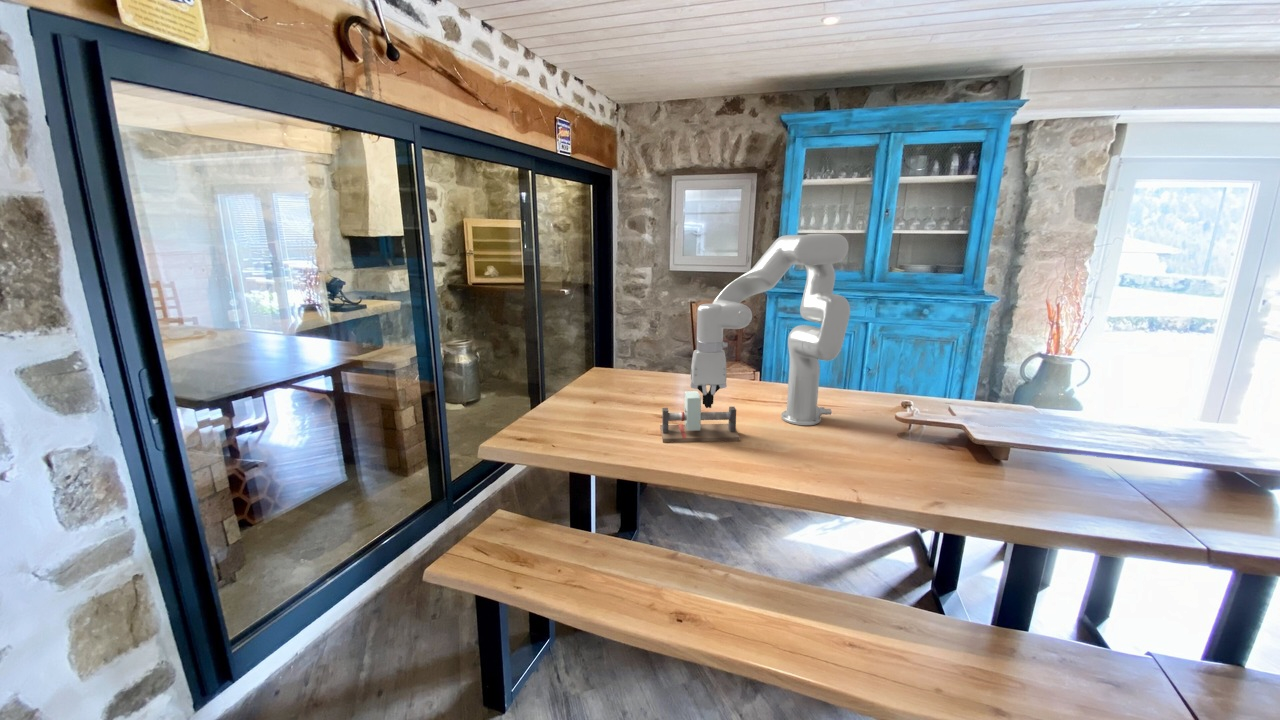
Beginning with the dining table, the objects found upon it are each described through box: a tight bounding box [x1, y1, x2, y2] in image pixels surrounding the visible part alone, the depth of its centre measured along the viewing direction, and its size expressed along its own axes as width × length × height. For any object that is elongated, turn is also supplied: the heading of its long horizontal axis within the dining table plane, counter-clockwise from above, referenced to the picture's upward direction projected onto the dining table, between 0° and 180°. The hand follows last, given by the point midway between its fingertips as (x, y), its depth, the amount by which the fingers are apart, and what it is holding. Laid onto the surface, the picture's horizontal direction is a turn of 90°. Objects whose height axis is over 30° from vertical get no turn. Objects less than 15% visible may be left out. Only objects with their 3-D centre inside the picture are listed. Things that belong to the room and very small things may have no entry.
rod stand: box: [659, 406, 741, 443], centre depth 154 cm, size 23×11×8 cm, turn 92°
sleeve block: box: [684, 390, 702, 431], centre depth 153 cm, size 4×7×10 cm, turn 2°
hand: (707, 406), depth 150 cm, fingers closed
